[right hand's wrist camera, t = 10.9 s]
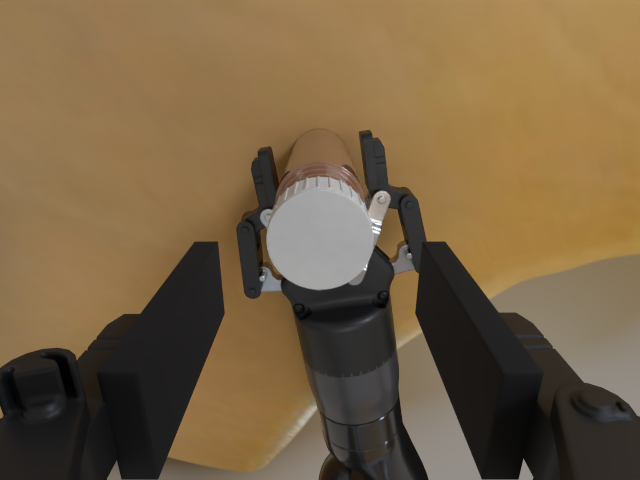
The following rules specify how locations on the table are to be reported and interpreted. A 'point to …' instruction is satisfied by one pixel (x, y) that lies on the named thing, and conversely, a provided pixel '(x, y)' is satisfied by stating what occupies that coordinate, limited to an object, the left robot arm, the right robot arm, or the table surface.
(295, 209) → the cap
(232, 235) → the table surface
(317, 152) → the bottle
